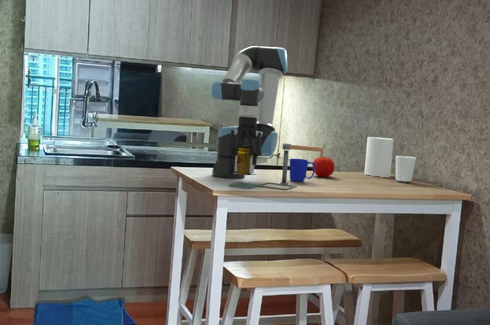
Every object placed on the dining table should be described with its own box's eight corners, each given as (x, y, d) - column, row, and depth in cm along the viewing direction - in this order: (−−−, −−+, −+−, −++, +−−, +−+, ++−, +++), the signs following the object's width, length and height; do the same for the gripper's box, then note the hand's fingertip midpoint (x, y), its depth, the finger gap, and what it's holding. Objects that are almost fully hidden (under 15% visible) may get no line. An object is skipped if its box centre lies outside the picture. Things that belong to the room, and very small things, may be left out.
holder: (255, 186, 282) (255, 185, 282) (267, 183, 294) (267, 182, 294) (285, 190, 276) (285, 188, 276) (296, 186, 288) (296, 185, 288)
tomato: (334, 176, 339) (336, 156, 338) (333, 179, 327) (335, 158, 326) (312, 174, 341) (314, 154, 340) (310, 176, 328) (312, 156, 327)
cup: (398, 180, 340) (400, 155, 339) (416, 182, 335) (419, 157, 333) (390, 181, 332) (392, 156, 331) (409, 184, 326) (411, 158, 325)
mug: (313, 183, 303) (315, 161, 302) (286, 181, 305) (288, 159, 304) (315, 181, 311) (316, 160, 310) (289, 179, 313) (291, 158, 312)
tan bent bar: (322, 157, 286) (322, 147, 286) (281, 154, 290) (282, 143, 290) (323, 157, 290) (323, 146, 289) (282, 153, 294) (283, 143, 294)
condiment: (231, 173, 277) (233, 144, 276) (246, 172, 283) (248, 144, 282) (243, 175, 272) (245, 146, 271) (258, 175, 278) (260, 146, 276)
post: (278, 184, 292) (281, 150, 291) (281, 183, 296) (284, 149, 294) (286, 185, 291) (288, 151, 289) (289, 184, 294) (291, 150, 293)
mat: (228, 186, 275) (228, 183, 275) (238, 184, 285) (238, 181, 284) (248, 188, 272) (248, 186, 272) (257, 186, 281) (258, 184, 281)
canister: (370, 177, 347) (374, 138, 345) (360, 173, 360) (363, 136, 358) (394, 177, 350) (398, 139, 348) (383, 174, 363) (386, 137, 361)
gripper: (223, 114, 276) (219, 170, 278) (265, 118, 268) (261, 175, 270) (231, 114, 282) (227, 169, 285) (272, 118, 275) (268, 173, 277)
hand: (244, 171), depth 277 cm, fingers closed on condiment, 6 cm apart
